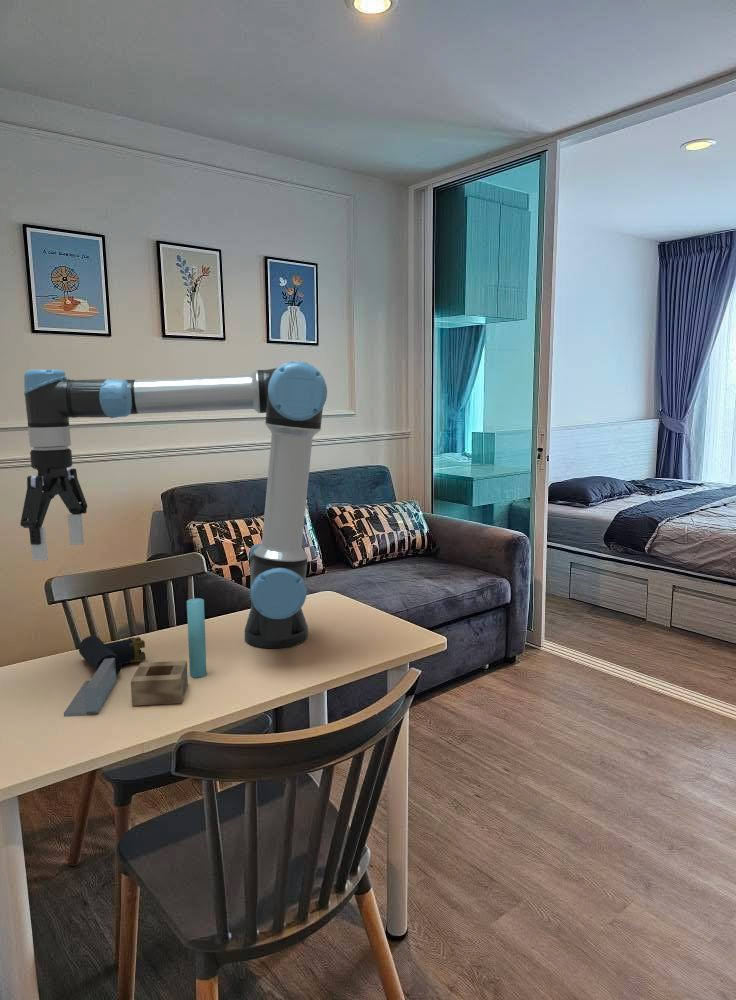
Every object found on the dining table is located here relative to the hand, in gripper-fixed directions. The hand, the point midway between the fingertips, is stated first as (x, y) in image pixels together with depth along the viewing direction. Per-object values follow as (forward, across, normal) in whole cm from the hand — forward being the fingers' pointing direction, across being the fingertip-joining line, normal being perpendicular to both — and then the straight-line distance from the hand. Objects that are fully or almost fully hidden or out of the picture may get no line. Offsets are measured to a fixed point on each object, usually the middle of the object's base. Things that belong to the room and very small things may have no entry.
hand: (59, 552), depth 139 cm
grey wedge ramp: (+26, +11, +11) cm, 30 cm away
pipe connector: (+26, -4, +8) cm, 28 cm away
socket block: (+26, +8, +24) cm, 36 cm away
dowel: (+26, -2, +27) cm, 38 cm away
